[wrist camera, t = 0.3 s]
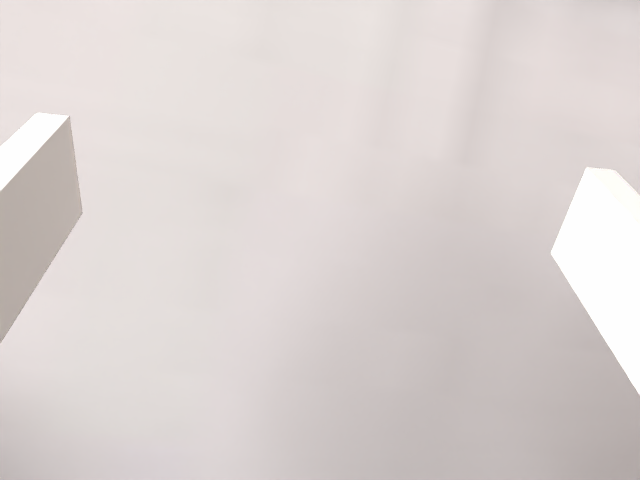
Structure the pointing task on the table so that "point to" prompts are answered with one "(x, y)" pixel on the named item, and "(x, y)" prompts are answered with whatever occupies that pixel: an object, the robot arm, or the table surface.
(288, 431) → the table surface
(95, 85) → the table surface
